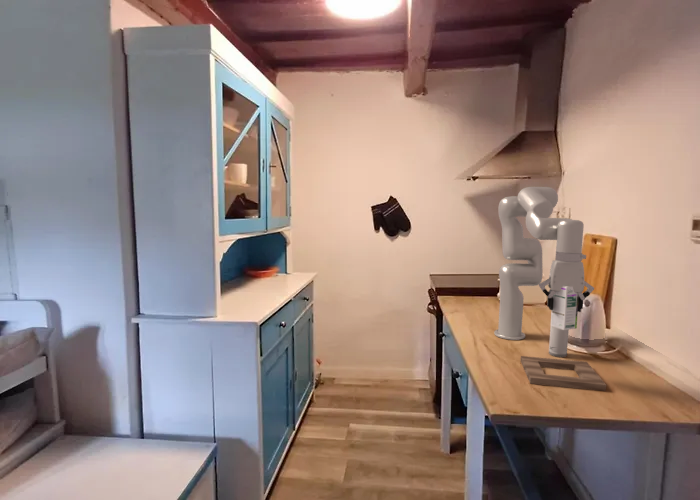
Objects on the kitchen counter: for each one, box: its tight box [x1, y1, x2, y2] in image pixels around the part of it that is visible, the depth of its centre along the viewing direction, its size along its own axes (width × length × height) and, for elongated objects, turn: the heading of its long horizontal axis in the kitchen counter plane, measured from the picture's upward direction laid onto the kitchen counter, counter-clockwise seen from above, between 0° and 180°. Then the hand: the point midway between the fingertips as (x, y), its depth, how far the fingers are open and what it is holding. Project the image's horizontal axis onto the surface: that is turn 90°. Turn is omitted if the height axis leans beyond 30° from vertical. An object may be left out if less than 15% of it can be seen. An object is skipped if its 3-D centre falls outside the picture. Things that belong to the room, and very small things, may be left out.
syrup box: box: [550, 286, 579, 331], centre depth 145 cm, size 6×6×14 cm
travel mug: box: [548, 325, 570, 358], centre depth 166 cm, size 6×7×20 cm
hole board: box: [520, 355, 607, 392], centre depth 147 cm, size 20×22×2 cm
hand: (564, 309), depth 145 cm, fingers closed on syrup box, 8 cm apart
